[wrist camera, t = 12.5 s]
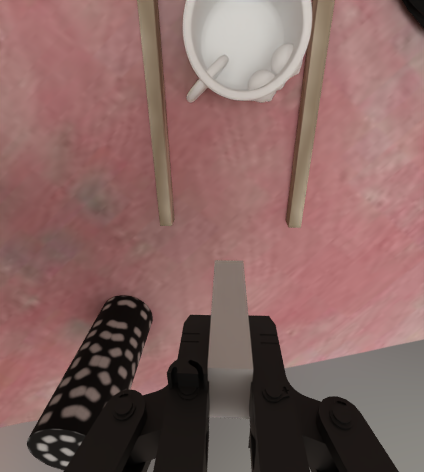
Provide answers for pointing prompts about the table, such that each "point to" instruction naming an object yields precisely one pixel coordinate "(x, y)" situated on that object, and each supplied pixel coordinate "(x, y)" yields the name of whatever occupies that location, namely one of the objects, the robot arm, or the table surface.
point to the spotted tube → (92, 379)
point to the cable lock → (416, 9)
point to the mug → (245, 45)
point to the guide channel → (306, 120)
